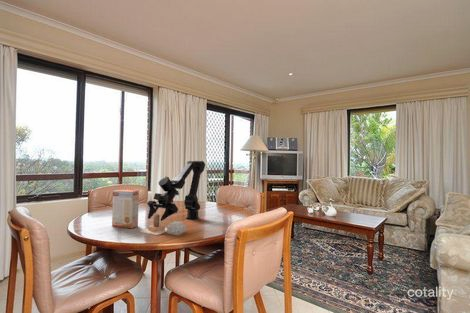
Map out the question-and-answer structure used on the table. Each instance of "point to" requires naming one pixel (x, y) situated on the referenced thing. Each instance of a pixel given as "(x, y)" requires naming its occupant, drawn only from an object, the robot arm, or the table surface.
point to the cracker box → (125, 208)
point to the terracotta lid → (156, 225)
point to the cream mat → (153, 232)
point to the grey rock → (176, 228)
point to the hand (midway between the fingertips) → (154, 219)
